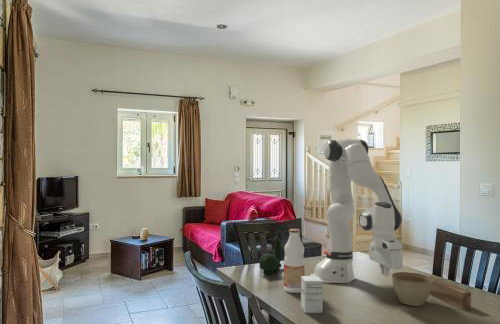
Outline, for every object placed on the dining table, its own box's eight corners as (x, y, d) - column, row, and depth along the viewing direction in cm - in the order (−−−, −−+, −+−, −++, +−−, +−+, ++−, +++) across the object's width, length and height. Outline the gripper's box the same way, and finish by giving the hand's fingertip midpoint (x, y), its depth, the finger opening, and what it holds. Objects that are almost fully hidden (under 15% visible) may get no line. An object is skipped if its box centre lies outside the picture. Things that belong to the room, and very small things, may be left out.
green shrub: (270, 269, 228) (253, 276, 205) (271, 235, 230) (255, 239, 207) (286, 271, 224) (271, 278, 201) (287, 237, 226) (272, 240, 203)
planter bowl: (429, 312, 159) (429, 284, 159) (387, 304, 167) (387, 278, 167) (435, 300, 172) (435, 275, 172) (396, 294, 181) (396, 269, 181)
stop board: (462, 310, 161) (462, 292, 161) (424, 291, 184) (424, 276, 184) (470, 309, 162) (470, 292, 162) (431, 291, 185) (432, 276, 185)
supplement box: (300, 306, 164) (300, 275, 164) (318, 306, 164) (318, 275, 164) (304, 313, 156) (304, 280, 156) (323, 312, 157) (323, 280, 157)
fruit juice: (293, 294, 178) (293, 231, 178) (279, 289, 186) (280, 229, 186) (308, 291, 184) (309, 230, 184) (294, 286, 191) (295, 227, 192)
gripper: (365, 238, 176) (365, 269, 176) (390, 246, 156) (391, 282, 156) (378, 237, 178) (378, 268, 177) (405, 245, 158) (406, 281, 157)
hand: (385, 275), depth 167 cm, fingers closed
